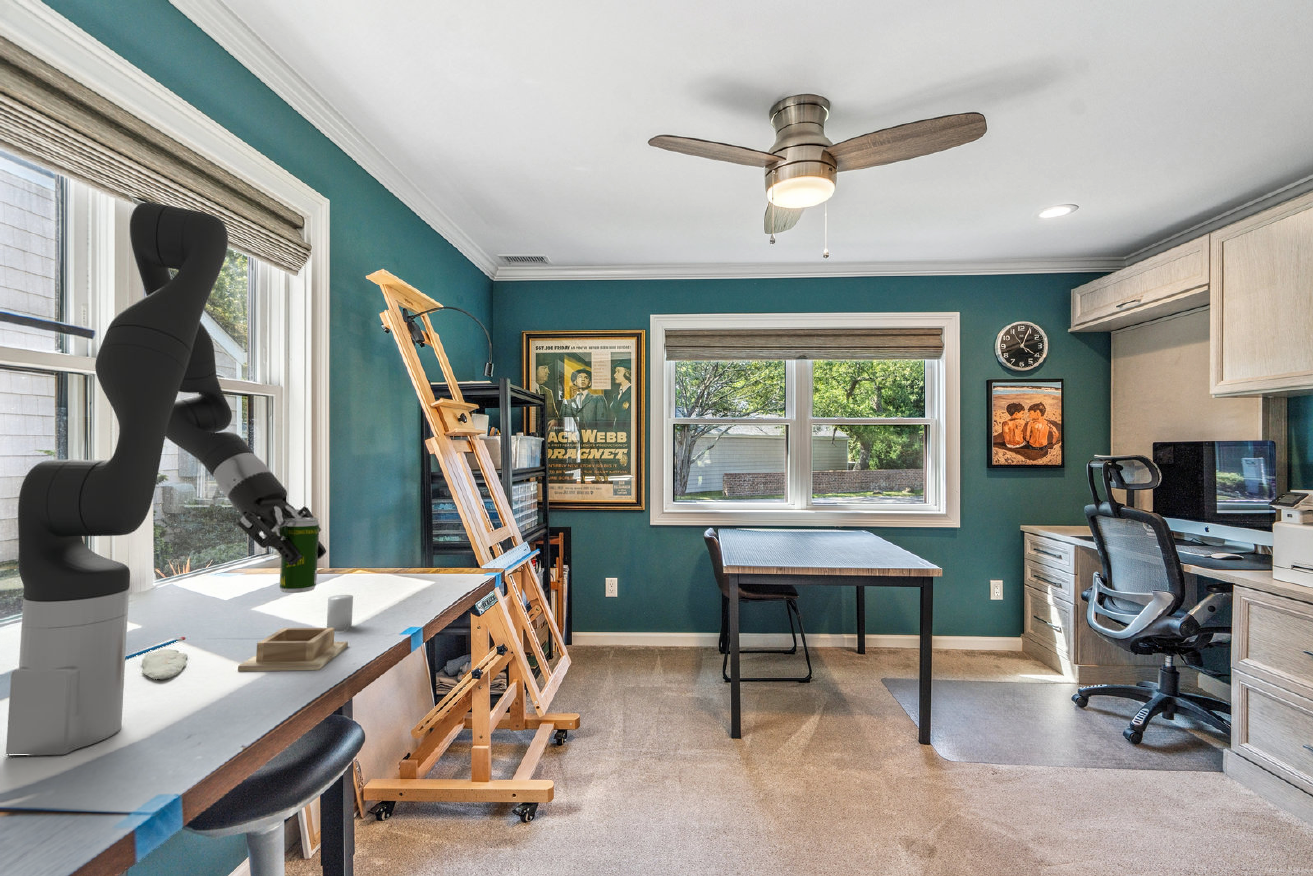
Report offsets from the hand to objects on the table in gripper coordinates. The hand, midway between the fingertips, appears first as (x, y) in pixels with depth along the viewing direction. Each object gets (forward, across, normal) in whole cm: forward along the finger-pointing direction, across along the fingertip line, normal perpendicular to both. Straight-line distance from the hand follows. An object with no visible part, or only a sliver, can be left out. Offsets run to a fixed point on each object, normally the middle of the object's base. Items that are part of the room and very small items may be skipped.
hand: (309, 558), depth 101 cm
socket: (+11, 0, +13) cm, 17 cm away
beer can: (+3, 0, +5) cm, 6 cm away
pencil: (-7, -4, +32) cm, 33 cm away
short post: (+7, +18, +16) cm, 25 cm away
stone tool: (0, -8, +25) cm, 26 cm away
